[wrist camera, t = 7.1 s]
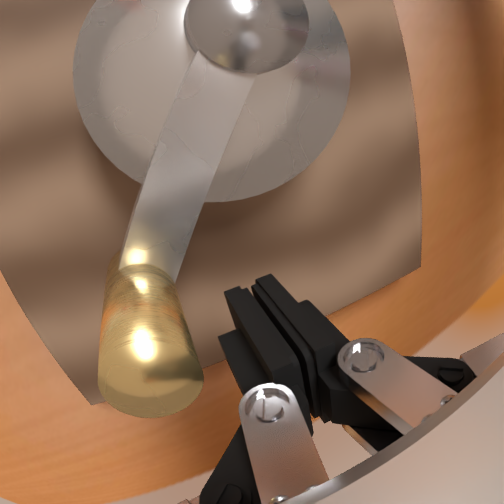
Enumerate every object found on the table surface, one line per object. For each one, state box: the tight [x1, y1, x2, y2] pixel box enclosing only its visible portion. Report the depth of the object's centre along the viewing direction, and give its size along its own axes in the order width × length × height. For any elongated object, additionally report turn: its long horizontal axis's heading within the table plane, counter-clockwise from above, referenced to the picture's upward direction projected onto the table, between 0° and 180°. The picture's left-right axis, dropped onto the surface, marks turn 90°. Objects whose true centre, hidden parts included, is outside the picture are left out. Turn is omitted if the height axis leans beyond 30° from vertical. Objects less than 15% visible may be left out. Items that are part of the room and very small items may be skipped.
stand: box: [0, 0, 422, 405], centre depth 13 cm, size 28×24×2 cm
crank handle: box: [73, 0, 351, 418], centre depth 9 cm, size 18×10×8 cm, turn 157°
